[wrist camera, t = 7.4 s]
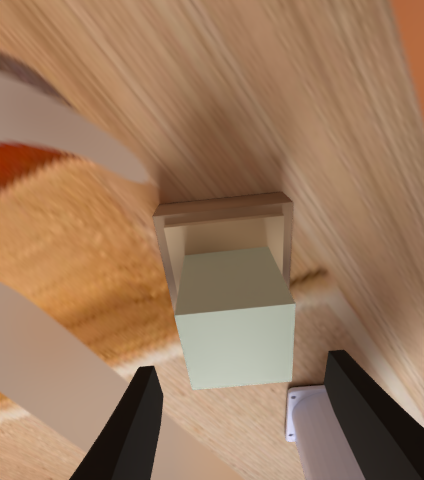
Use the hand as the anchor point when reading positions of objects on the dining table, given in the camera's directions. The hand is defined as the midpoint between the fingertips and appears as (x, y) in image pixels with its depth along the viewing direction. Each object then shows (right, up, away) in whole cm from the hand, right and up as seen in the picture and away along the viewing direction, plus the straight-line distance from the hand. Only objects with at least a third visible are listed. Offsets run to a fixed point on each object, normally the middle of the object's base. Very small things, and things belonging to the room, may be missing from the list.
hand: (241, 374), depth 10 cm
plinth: (0, +4, +8) cm, 9 cm away
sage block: (0, +3, +5) cm, 6 cm away
